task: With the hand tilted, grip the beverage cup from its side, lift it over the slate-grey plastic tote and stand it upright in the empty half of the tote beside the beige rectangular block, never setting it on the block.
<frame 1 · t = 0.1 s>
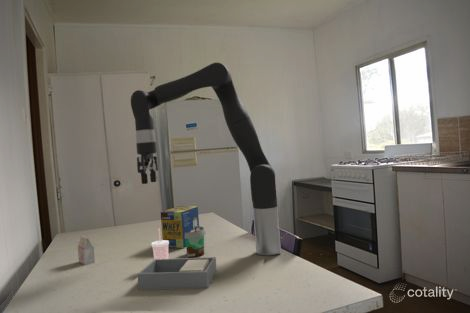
hand: (149, 182, 137), 29 cm above the table, tool pointing down, fingers open, 8 cm apart
food container: (199, 255, 135), on the table
small milk carton: (86, 262, 136), on the table
beige rectangular block: (195, 279, 105), point 1 cm above the table, touching tote
protein box: (182, 243, 154), on the table
beverage cup: (162, 268, 122), on the table
tote: (179, 283, 106), on the table
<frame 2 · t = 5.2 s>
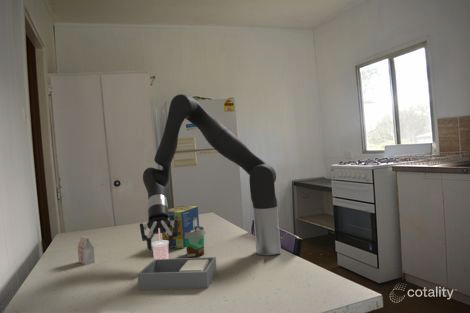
hand: (160, 248, 121), 7 cm above the table, tool tilted 45°, fingers closed on beverage cup, 6 cm apart
beverage cup: (162, 268, 122), on the table, touching gripper
everything else where it was.
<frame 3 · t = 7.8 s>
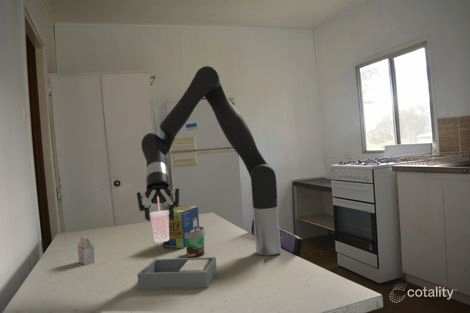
hand: (159, 218, 108), 20 cm above the table, tool tilted 45°, fingers closed on beverage cup, 6 cm apart
beverage cup: (161, 241, 109), point 12 cm above the table, touching gripper
everything else where it was.
when the fingers open (10 cm above the table, at t = 10.6 s): beverage cup drops 1 cm, resting on tote.
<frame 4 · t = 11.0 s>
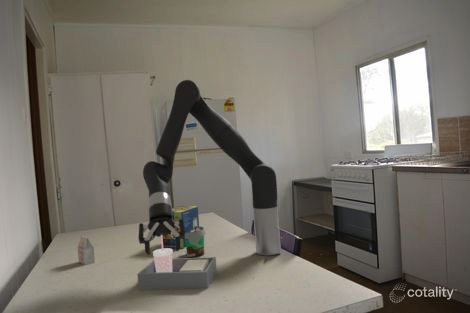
hand: (163, 251, 105), 10 cm above the table, tool tilted 45°, fingers open, 8 cm apart
beverage cup: (164, 280, 107), point 1 cm above the table, touching tote
everything else where it was.
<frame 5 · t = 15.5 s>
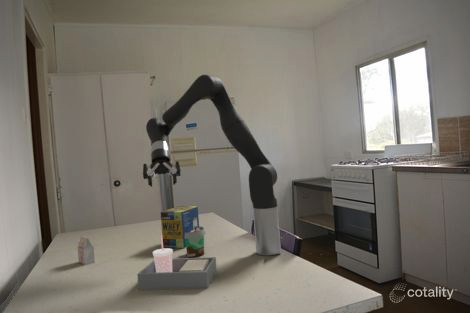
hand: (162, 184, 131), 29 cm above the table, tool tilted 45°, fingers open, 8 cm apart
nothing on the table moved.
at the end: beverage cup inside the target area on the tote (0.3 cm from its centre), point 0.8 cm above the tote's base; beverage cup tilted 0°; beige rectangular block moved 0.0 cm from its start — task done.
